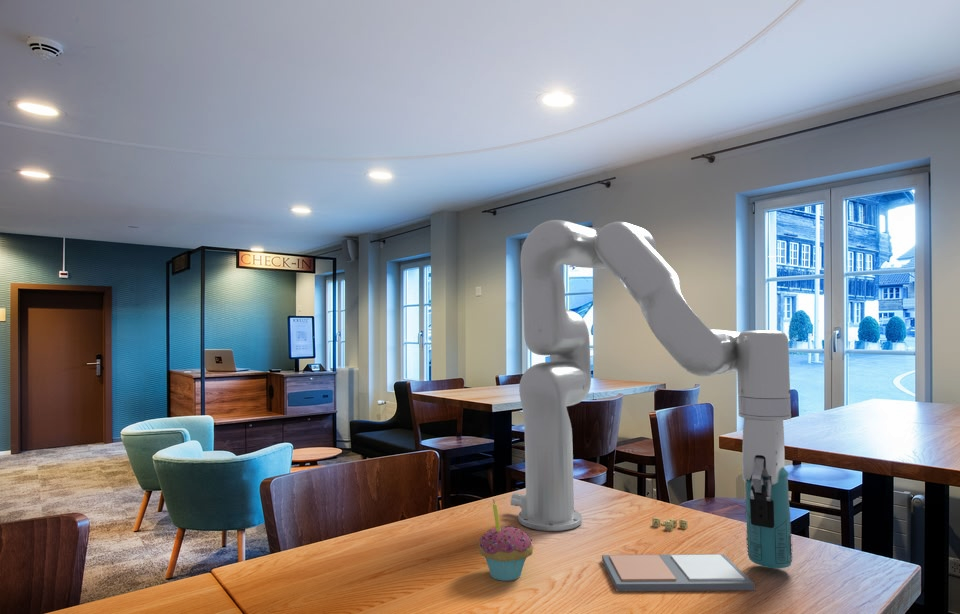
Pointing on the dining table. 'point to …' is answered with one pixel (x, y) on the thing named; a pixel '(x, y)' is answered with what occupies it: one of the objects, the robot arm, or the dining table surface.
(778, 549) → the beverage bottle
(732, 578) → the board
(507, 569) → the cupcake
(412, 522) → the dining table surface
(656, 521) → the dice set
